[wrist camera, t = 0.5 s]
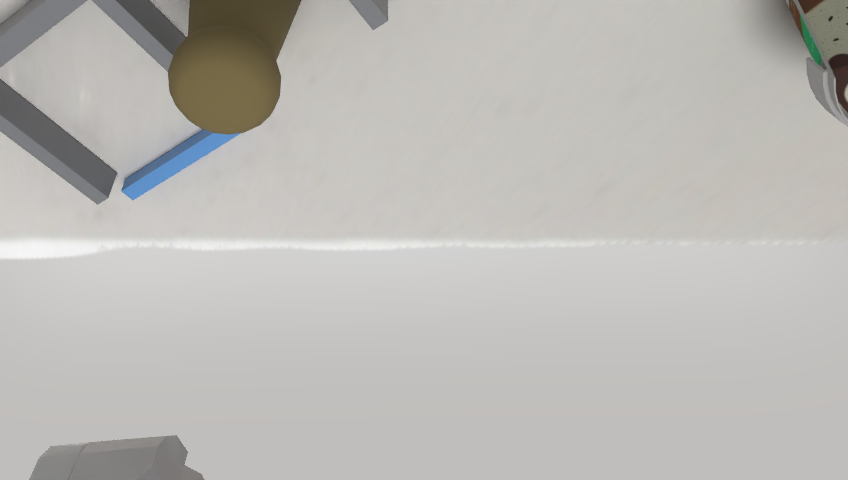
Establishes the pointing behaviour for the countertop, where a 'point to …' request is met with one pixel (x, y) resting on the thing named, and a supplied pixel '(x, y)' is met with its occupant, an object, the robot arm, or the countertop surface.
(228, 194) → the countertop surface
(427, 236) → the countertop surface
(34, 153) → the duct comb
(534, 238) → the countertop surface
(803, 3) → the food container
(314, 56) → the countertop surface
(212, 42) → the cork
